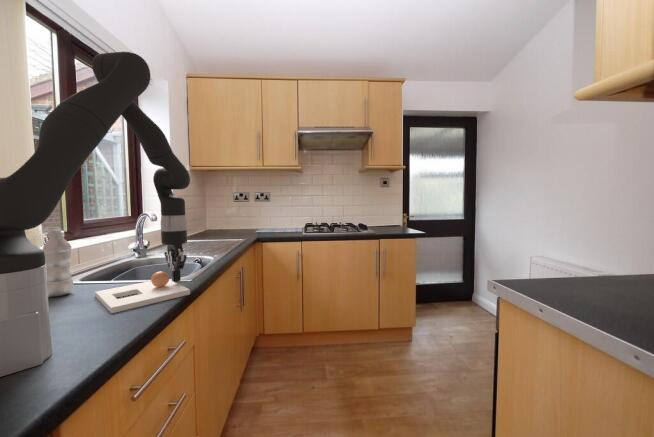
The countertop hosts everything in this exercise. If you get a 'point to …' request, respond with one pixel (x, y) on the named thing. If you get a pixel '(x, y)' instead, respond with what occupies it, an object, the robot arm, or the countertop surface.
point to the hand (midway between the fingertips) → (176, 281)
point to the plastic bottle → (58, 264)
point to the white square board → (139, 295)
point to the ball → (160, 279)
